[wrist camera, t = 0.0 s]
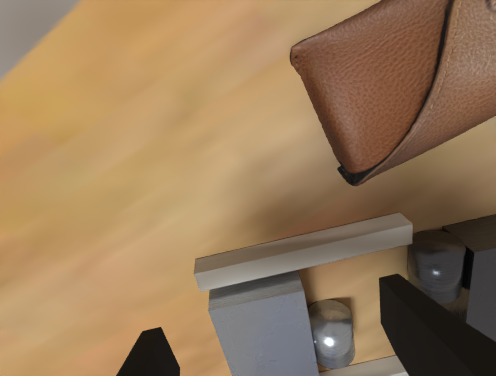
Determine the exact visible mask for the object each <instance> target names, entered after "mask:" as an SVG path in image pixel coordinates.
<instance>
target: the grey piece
mask: <svg viewBox="0 0 496 376" xmlns="http://www.w3.org/2000/svg"><path fill="white" fill-rule="evenodd" d="M208 311H209V314H210V316H211V319H212V322H213V325H214V327H215V330H216V333H217V336H218V338H219V341H220V344H221V347H222V349H223V352H224V355H225V357H226V360H227V363H228V366H229V368H230V371H231V374H232V376H319V372H318V366H317V362H318V363H319V364H320V365H322V366H324V367H326V368H329V369H341V368H344V367H346V366H348V365H349V364H350V363H351V362H352V360H353V359H354V356H355V344H354V333H353V323H352V315H351V312H350V310H349V309H348V308H347V307H346V306H345V305H344V304H342V303H340V302H338V301H335V300H321V301H318V302H316V303H314V304H312V305H311V306H310V307H309V308H308V310H307V305H306V299H305V293H304V289H303V286H302V283H301V280H300V277H299V273H298V270H294V271H290V272H285V273H281V274H276V275H272V276H268V277H263V278H259V279H255V280H250V281H246V282H241V283H237V284H233V285H228V286H224V287H219V288H215V289H211V290H210V292H209V310H208Z"/></svg>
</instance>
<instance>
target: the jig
mask: <svg viewBox="0 0 496 376" xmlns="http://www.w3.org/2000/svg"><path fill="white" fill-rule="evenodd" d="M412 232H413V224H412V223H411V222H410V221H409V220H408V219H407V218H406V217H404V216H403V215H402V214H401V213H395V214H391V215H386V216H382V217H378V218H373V219H369V220H365V221H360V222H356V223H352V224H347V225H343V226H338V227H334V228H330V229H325V230H321V231H317V232H312V233H308V234H304V235H299V236H295V237H290V238H286V239H282V240H277V241H273V242H269V243H264V244H260V245H255V246H251V247H247V248H242V249H238V250H234V251H229V252H225V253H221V254H216V255H212V256H207V257H203V258H199V259H195V268H194V276H195V279H196V281H197V284H198V287H199V289H200V292H202V291H206V290H211V289H215V288H219V287H224V286H228V285H233V284H237V283H241V282H246V281H250V280H255V279H259V278H263V277H268V276H272V275H276V274H281V273H285V272H290V271H294V270H298V269H303V268H307V267H312V266H316V265H320V264H325V263H329V262H334V261H338V260H342V259H347V258H351V257H355V256H360V255H364V254H369V253H373V252H377V251H382V250H386V249H391V248H395V247H399V246H404V245H408V244H412ZM319 376H409V375H408V373H407V372H406V370H405V369H404V367H403V365H402V364H401V362H400V360H399V359H398V357H397V355H396V356H391V357H387V358H382V359H378V360H373V361H369V362H364V363H360V364H355V365H351V366H347V367H344V368H341V369H333V370H329V371H324V372H320V373H319Z"/></svg>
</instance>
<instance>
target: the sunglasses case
mask: <svg viewBox="0 0 496 376" xmlns="http://www.w3.org/2000/svg"><path fill="white" fill-rule="evenodd" d="M290 62H291V64H292V66H293V67H294V68H295V70H296V71H297V72H298V74H299V75H300V76H301V79H302V81H303V83H304V86H305V88H306V90H307V92H308V95H309V97H310V99H311V102H312V104H313V107H314V109H315V111H316V113H317V115H318V118H319V121H320V122H321V124H322V128H323V129H324V132H325V134H326V137H327V139H328V141H329V143H330V145H331V147H332V150H333V153H334V155H335V156H336V159H337V160H338V161H339V163H340V164H341V166H340V167H338V171H339V172H340V174H341V175H342V177H343V178H344V179H345V180H346V182H348V183H349V184H351V185H352V186H358V185H360V184H363V183H364V182H366V181H367V180H369V179H370V178H372V177H374V176H376V175H378V174H380V173H382V172H384V171H387V170H389V169H390V168H393V167H395V166H397V165H399V164H402V163H404V162H406V161H408V160H410V159H412V158H414V157H416V156H418V155H421V154H423V153H424V152H426V151H428V150H430V149H432V148H435V147H436V146H438V145H440V144H442V143H444V142H446V141H448V140H450V139H452V138H454V137H456V136H458V135H460V134H462V133H464V132H466V131H467V130H469V129H471V128H473V127H475V126H477V125H479V124H481V123H483V122H485V121H487V120H488V119H490V118H492V117H494V116H496V0H381V1H380V2H379V3H377V4H374V5H373V6H371V7H369V8H368V9H365V10H364V11H362V12H360V13H358V14H356V15H354V16H352V17H350V18H348V19H346V20H344V21H342V22H340V23H338V24H336V25H334V26H333V27H330V28H329V29H327V30H325V31H322V32H320V33H318V34H316V35H314V36H311V37H309V38H307V39H304V40H302V41H300V42H299V43H297V44H296V45H294V46H292V48H291V52H290Z"/></svg>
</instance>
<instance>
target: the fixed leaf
mask: <svg viewBox="0 0 496 376" xmlns="http://www.w3.org/2000/svg"><path fill="white" fill-rule="evenodd" d="M408 281H409V282H410V283H412V284H413V285H414V286H416V287H417V288H418V289H420V290H421V291H422V292H424V293H425V294H426V295H428V296H429V297H430V298H432V299H433V300H435V301H436V302H437V303H439V304H440V305H442V306H443V307H444V308H446V309H447V310H449V311H450V312H452V313H453V314H454V315H456V316H457V317H459V318H460V319H462V320H463V321H465V322H466V323H468V324H469V325H471V326H472V327H474V328H475V329H477V330H478V331H480V332H481V333H483V334H484V335H486V336H487V337H489V338H491V339H492V340H494V341H495V342H496V215H491V216H487V217H482V218H478V219H474V220H469V221H465V222H461V223H456V224H452V225H447V226H443V231H435V230H428V231H421V232H418V233H415V234H414V235H412V244H408Z"/></svg>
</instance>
